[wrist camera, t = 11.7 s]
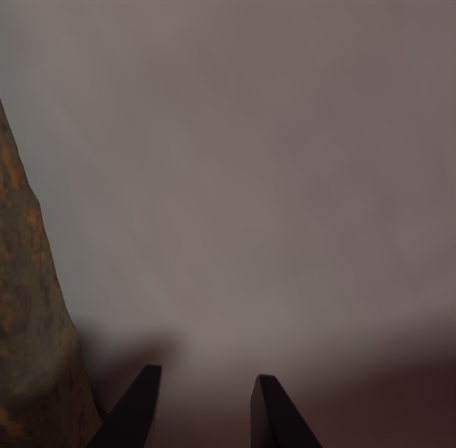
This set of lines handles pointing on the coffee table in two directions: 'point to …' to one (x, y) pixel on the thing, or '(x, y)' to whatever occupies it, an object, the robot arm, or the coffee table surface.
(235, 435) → the coffee table surface
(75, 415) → the hand tool
